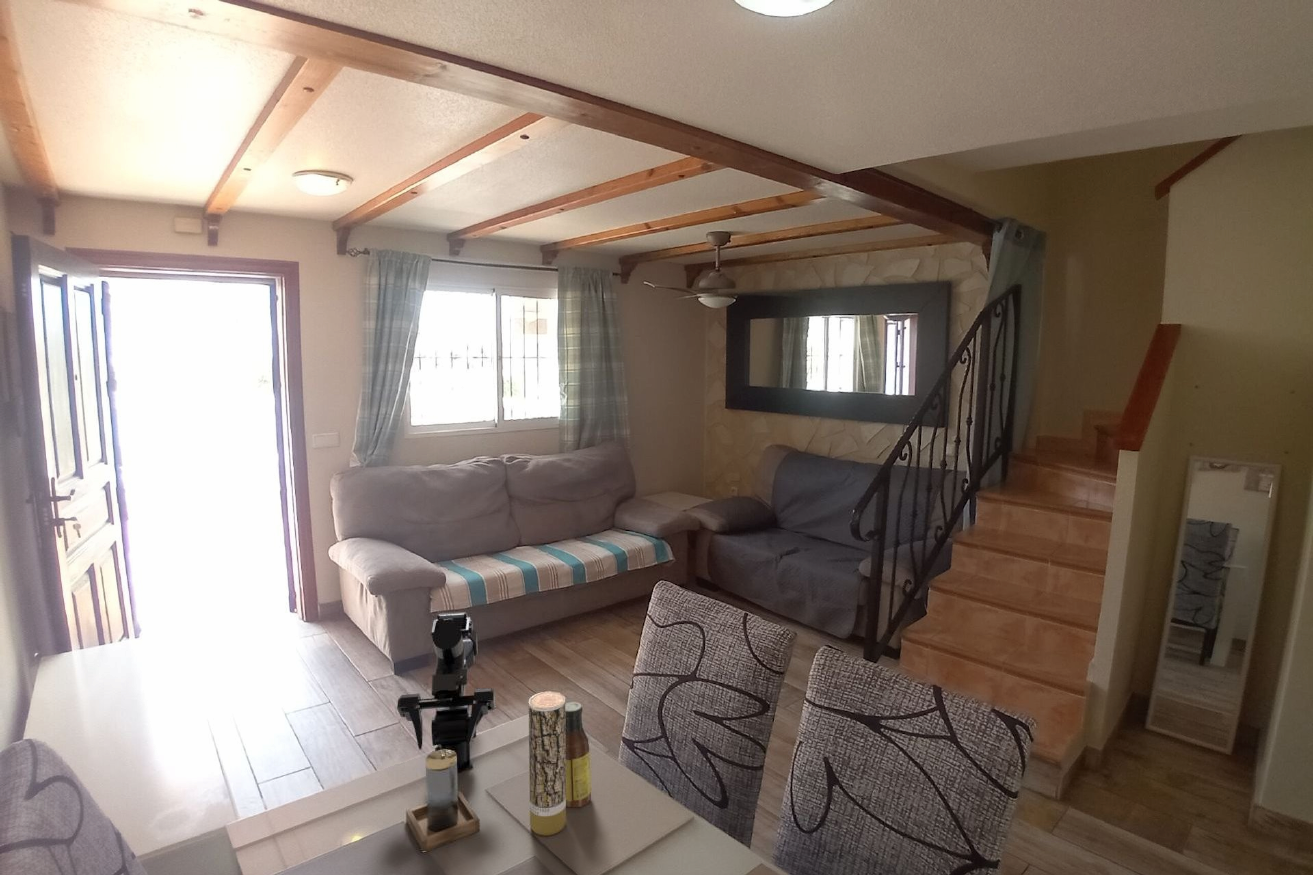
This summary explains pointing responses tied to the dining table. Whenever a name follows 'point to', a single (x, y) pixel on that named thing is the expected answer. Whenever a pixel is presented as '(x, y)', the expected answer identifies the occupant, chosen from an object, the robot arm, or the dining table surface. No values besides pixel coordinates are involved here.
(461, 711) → the robot arm
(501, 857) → the dining table surface
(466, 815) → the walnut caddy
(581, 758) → the sauce bottle
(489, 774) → the dining table surface
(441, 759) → the tea tin
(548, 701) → the paper tube
